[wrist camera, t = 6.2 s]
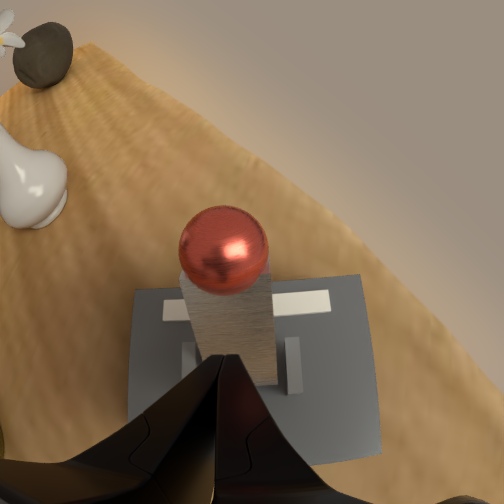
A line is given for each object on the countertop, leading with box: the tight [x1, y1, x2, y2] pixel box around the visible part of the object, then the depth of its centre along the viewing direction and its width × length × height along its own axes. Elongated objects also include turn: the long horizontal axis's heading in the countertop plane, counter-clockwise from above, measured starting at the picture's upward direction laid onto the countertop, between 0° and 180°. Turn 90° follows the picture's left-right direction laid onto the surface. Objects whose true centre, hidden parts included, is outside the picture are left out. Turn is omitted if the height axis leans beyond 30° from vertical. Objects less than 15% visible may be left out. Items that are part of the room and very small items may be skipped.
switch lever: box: [179, 205, 278, 386], centre depth 12 cm, size 3×3×8 cm
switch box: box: [128, 274, 382, 466], centre depth 15 cm, size 10×13×8 cm
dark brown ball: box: [13, 22, 73, 89], centre depth 42 cm, size 14×14×15 cm
